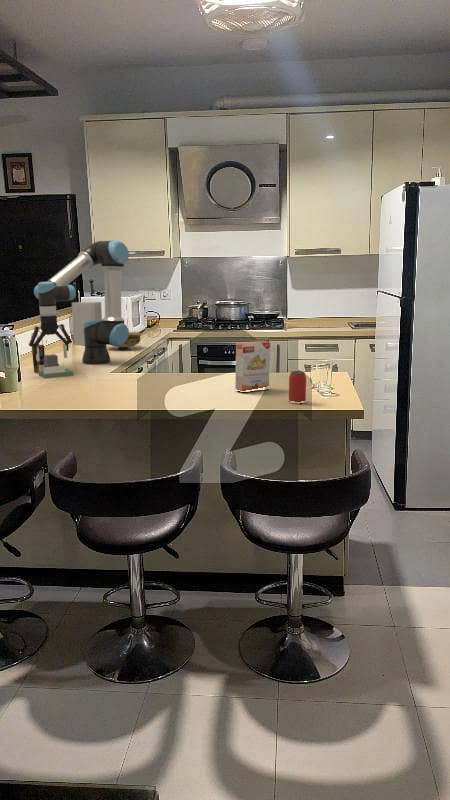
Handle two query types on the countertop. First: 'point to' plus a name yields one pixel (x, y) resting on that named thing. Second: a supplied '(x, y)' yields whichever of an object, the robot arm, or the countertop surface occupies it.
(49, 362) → the plug
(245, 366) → the cracker box
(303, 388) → the beer can
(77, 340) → the tall grey upright block
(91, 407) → the countertop surface
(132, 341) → the ceramic bowl
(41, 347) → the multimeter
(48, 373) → the board
